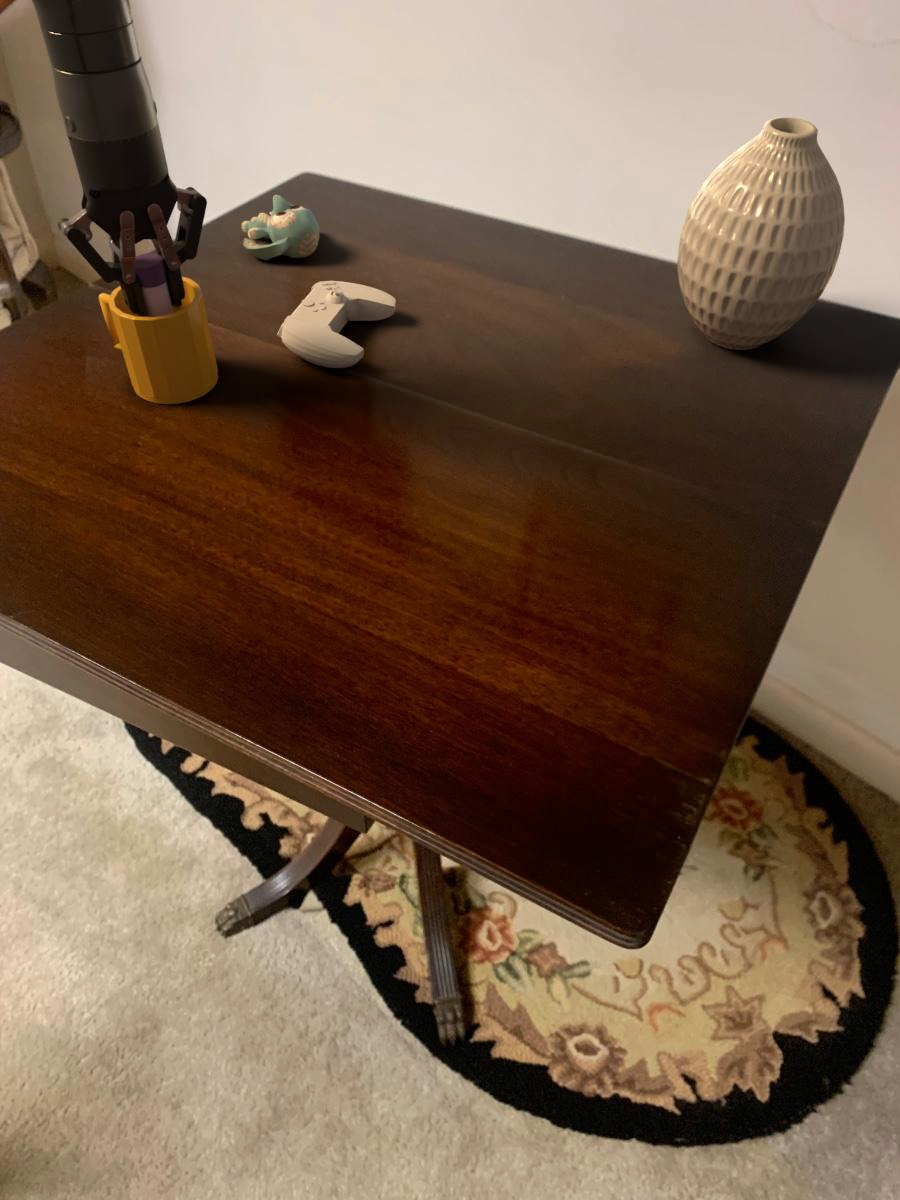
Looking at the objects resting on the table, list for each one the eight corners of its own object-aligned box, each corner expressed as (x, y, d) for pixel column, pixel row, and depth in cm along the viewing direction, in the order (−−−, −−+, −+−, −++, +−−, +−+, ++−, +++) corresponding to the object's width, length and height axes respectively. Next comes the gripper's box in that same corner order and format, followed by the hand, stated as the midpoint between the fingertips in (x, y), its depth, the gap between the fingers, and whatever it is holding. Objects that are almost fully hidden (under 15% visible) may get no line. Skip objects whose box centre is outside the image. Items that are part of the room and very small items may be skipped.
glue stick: (152, 362, 90) (127, 268, 82) (156, 346, 92) (132, 253, 84) (182, 361, 90) (160, 267, 83) (185, 345, 92) (164, 252, 85)
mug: (234, 369, 95) (219, 286, 88) (185, 413, 89) (164, 328, 82) (145, 342, 98) (123, 260, 91) (92, 383, 92) (64, 299, 85)
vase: (637, 309, 104) (676, 104, 88) (758, 290, 108) (816, 89, 92) (704, 384, 94) (762, 168, 78) (835, 360, 98) (917, 148, 81)
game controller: (357, 355, 91) (267, 320, 91) (351, 389, 94) (265, 355, 95) (404, 289, 100) (322, 257, 101) (397, 322, 104) (318, 291, 104)
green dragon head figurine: (270, 177, 115) (335, 184, 108) (284, 233, 120) (347, 243, 113) (206, 204, 109) (270, 213, 103) (224, 262, 114) (286, 274, 107)
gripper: (171, 91, 79) (207, 274, 92) (13, 122, 74) (74, 312, 86) (207, 117, 75) (239, 304, 88) (42, 152, 70) (102, 347, 82)
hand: (157, 307), depth 87 cm, fingers closed on glue stick, 3 cm apart
